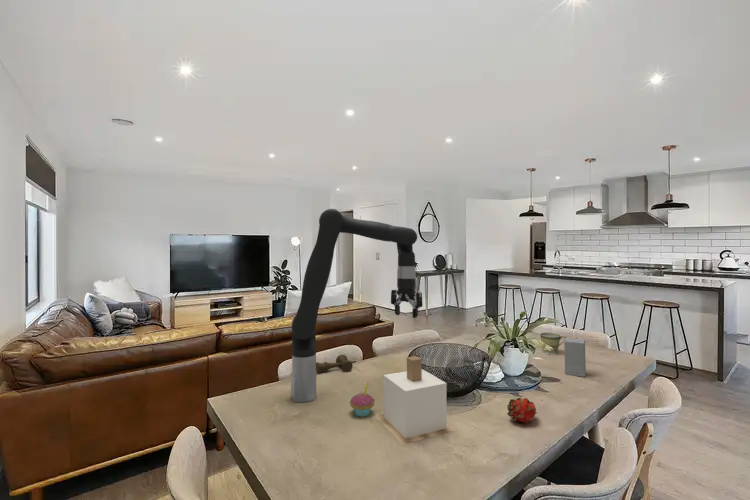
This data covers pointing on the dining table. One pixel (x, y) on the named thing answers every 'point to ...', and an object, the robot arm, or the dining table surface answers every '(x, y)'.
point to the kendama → (336, 364)
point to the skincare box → (575, 357)
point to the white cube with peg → (414, 400)
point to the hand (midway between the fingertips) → (406, 316)
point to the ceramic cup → (551, 341)
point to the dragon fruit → (521, 410)
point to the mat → (415, 438)
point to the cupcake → (362, 403)
